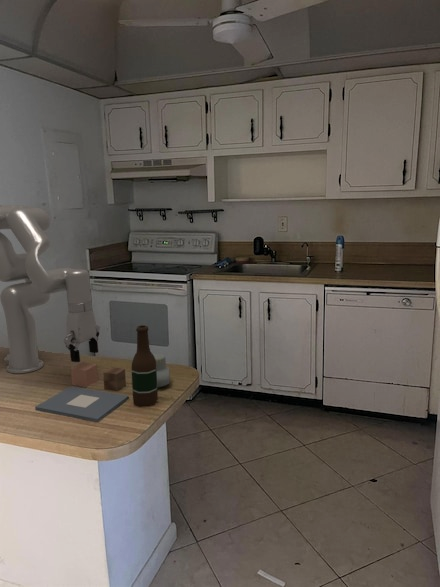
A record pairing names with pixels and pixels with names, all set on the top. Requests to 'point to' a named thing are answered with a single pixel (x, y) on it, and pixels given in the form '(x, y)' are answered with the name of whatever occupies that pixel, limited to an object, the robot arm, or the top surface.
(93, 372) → the terracotta block
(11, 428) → the top surface
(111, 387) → the walnut block
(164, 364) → the air freshener
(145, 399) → the beer bottle
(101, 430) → the top surface
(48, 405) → the board
